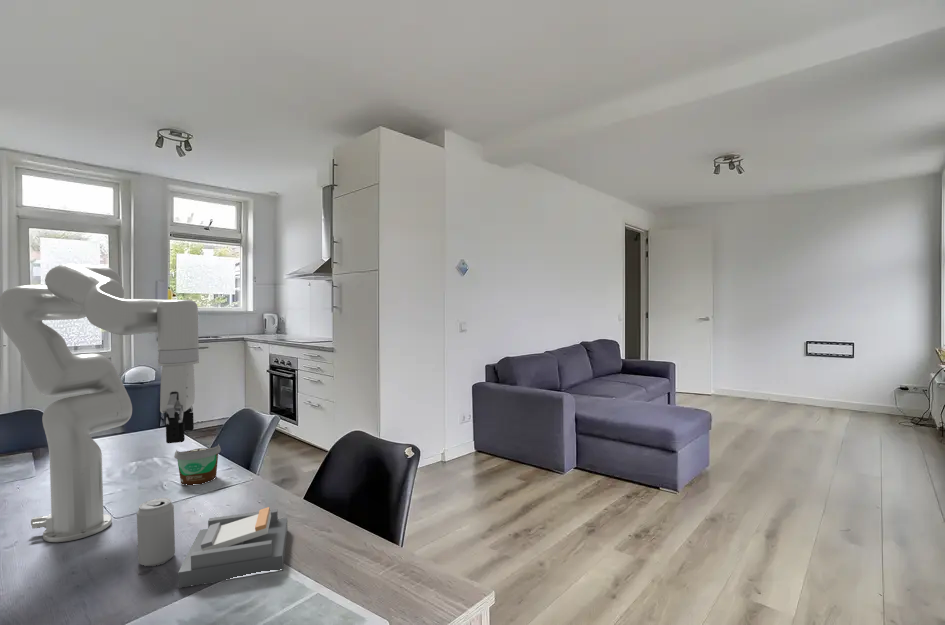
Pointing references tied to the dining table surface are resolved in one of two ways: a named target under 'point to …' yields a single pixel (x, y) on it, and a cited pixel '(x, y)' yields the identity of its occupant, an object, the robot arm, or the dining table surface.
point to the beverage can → (155, 532)
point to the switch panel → (235, 554)
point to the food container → (197, 465)
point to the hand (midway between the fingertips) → (180, 436)
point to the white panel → (237, 531)
